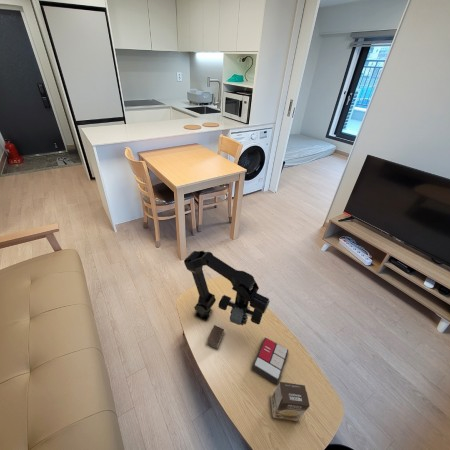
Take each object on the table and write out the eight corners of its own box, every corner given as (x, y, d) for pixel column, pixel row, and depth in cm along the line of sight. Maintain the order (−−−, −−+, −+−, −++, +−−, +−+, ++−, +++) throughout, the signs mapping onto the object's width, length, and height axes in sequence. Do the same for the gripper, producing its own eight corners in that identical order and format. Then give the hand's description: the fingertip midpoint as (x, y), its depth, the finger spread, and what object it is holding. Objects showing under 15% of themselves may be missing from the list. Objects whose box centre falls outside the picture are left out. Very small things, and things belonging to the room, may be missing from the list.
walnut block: (207, 344, 108) (207, 339, 105) (214, 329, 114) (214, 324, 111) (217, 349, 106) (217, 344, 104) (223, 334, 112) (224, 329, 110)
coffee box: (272, 418, 86) (281, 403, 77) (270, 398, 91) (278, 381, 82) (297, 421, 85) (310, 406, 76) (294, 400, 91) (305, 384, 81)
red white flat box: (289, 348, 103) (279, 380, 92) (286, 353, 106) (276, 385, 95) (265, 336, 108) (253, 364, 97) (263, 341, 110) (251, 369, 99)
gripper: (214, 305, 94) (212, 326, 103) (259, 324, 87) (253, 344, 97) (224, 285, 102) (221, 306, 111) (266, 301, 96) (260, 322, 105)
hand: (238, 319), depth 106 cm, fingers closed
